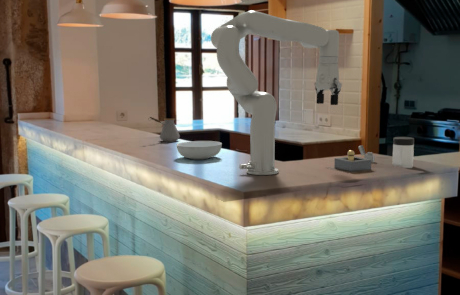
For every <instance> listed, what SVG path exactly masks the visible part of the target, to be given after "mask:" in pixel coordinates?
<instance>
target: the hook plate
mask: <svg viewBox="0 0 460 295" xmlns="http://www.w3.org/2000/svg"><path fill="white" fill-rule="evenodd" d="M326 169H328V170H333V171H338V172H341V173H346V174H354V173H362V172H371V171H376V169H374V168H371V170H366V171H358V172H348V171H343V170H339V169H335V168H334V166H328V167H326Z"/></svg>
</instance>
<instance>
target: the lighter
mask: <svg viewBox="0 0 460 295" xmlns="http://www.w3.org/2000/svg"><path fill="white" fill-rule="evenodd" d="M358 150H359V153H360V155H361V156H363V158H365V159H370V160H371V164H372V163H375V162H376V155H375V154H373V152H372V151H371V152H370V151H368V152H366V151H365V147H364V145H363V144H362V145H359V146H358Z"/></svg>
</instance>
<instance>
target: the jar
mask: <svg viewBox="0 0 460 295" xmlns="http://www.w3.org/2000/svg"><path fill="white" fill-rule="evenodd" d="M392 140H393V144H392V166H393V167H400V168H403V169H404V168H405V169H413V166H414V153H415V152H414V150H415V148H414V147H415V138H414V137H411V136H410V137H409V136H395V137H393V139H392Z"/></svg>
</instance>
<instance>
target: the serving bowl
mask: <svg viewBox="0 0 460 295" xmlns="http://www.w3.org/2000/svg"><path fill="white" fill-rule="evenodd" d="M222 145H223V143H222V142H220V141H216V140H215V141H213V140H194V141H192V140H191V141H184V142H180V143H177V144H176V149H177V153H179V155H180V156H182V157H184V158H187V159H189V160H195V161H196V160H208V159H210V158H213V157H215V156H217V155H218V154H219V153H220V152H221V149H222V147H223V146H222Z"/></svg>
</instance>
